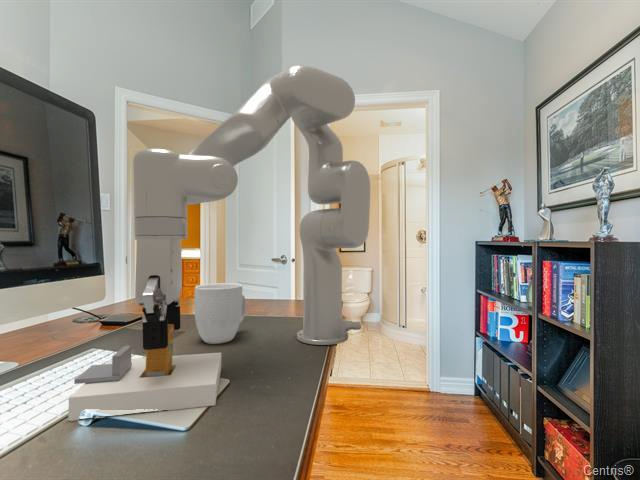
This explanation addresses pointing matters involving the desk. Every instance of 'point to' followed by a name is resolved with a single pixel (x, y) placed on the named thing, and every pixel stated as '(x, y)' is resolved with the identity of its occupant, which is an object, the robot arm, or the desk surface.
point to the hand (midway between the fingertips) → (163, 338)
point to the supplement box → (160, 358)
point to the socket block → (154, 387)
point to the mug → (219, 311)
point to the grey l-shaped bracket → (108, 368)
